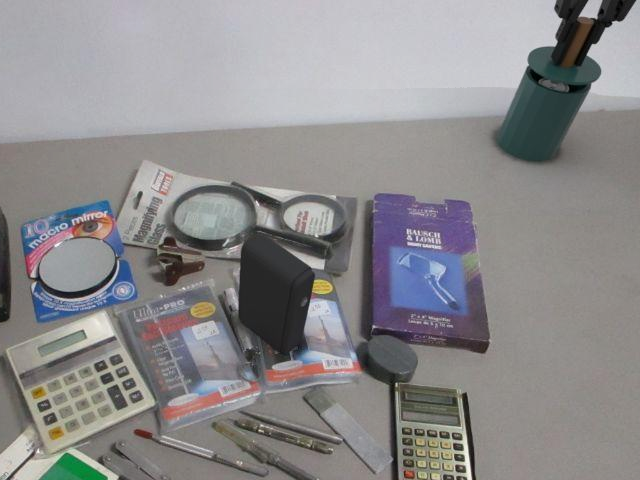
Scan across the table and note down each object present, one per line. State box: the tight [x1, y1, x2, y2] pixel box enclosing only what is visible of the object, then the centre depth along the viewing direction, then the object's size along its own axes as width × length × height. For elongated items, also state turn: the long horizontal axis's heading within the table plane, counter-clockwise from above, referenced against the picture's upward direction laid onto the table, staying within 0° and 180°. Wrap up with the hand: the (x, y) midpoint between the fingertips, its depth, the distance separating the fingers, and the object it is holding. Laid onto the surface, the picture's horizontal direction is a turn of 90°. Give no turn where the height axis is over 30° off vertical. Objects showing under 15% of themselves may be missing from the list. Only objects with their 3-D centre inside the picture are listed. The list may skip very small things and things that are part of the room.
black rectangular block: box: [237, 233, 316, 356], centre depth 74 cm, size 9×4×15 cm, turn 45°
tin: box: [496, 65, 593, 163], centre depth 103 cm, size 10×10×14 cm
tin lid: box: [526, 16, 602, 85], centre depth 94 cm, size 11×11×8 cm
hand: (565, 61), depth 96 cm, fingers closed on tin lid, 3 cm apart
